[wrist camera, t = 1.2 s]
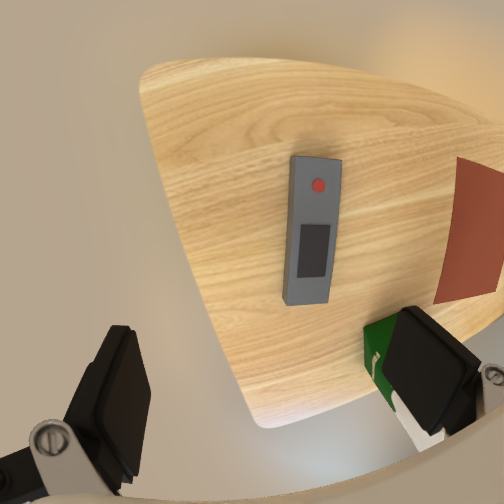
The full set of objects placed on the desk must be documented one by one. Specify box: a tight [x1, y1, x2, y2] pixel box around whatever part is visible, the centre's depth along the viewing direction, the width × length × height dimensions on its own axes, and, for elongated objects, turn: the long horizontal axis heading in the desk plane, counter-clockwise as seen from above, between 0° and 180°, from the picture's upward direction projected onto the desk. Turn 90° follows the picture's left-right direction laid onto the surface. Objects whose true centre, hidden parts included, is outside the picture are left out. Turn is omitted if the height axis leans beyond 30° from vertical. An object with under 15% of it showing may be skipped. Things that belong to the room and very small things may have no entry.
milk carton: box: [363, 312, 445, 452], centre depth 23 cm, size 9×9×20 cm
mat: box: [433, 157, 504, 304], centre depth 31 cm, size 20×18×1 cm
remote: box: [282, 156, 342, 306], centre depth 26 cm, size 14×4×2 cm, turn 179°
